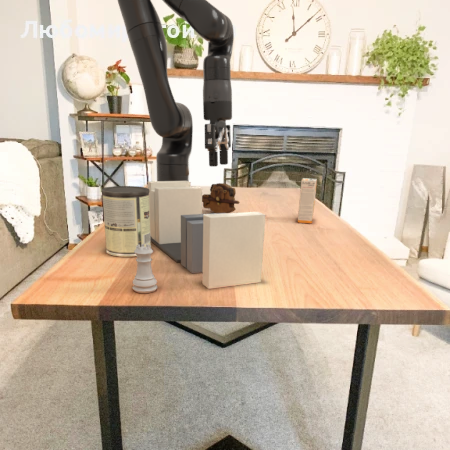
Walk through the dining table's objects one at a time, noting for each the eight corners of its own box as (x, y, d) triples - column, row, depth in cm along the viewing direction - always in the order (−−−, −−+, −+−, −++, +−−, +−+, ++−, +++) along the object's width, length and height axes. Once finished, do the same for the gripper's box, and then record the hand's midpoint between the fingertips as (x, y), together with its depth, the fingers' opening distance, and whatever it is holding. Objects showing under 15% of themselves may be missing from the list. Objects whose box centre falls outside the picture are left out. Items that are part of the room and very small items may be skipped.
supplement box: (312, 223, 139) (317, 181, 134) (297, 222, 140) (301, 180, 135) (313, 219, 146) (317, 178, 142) (298, 218, 147) (302, 177, 142)
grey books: (180, 264, 94) (180, 214, 90) (223, 260, 98) (224, 212, 94) (192, 273, 88) (192, 221, 85) (236, 268, 92) (238, 218, 89)
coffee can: (107, 245, 106) (103, 185, 101) (150, 245, 108) (149, 186, 103) (103, 257, 97) (99, 191, 91) (151, 256, 98) (149, 192, 93)
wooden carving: (196, 210, 153) (197, 181, 150) (205, 209, 157) (206, 180, 153) (233, 218, 143) (234, 186, 140) (242, 216, 147) (243, 185, 143)
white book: (202, 283, 83) (203, 214, 78) (253, 277, 87) (257, 211, 83) (208, 289, 80) (210, 217, 75) (261, 282, 85) (265, 214, 80)
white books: (144, 236, 116) (143, 180, 111) (187, 233, 121) (187, 180, 116) (177, 262, 95) (176, 195, 90) (227, 257, 100) (229, 193, 95)
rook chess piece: (133, 285, 81) (131, 242, 78) (158, 285, 81) (157, 242, 78) (131, 294, 77) (128, 249, 74) (157, 294, 77) (155, 249, 74)
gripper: (213, 103, 123) (214, 164, 128) (193, 99, 110) (196, 167, 115) (239, 101, 120) (239, 164, 126) (222, 97, 108) (223, 167, 113)
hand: (218, 165), depth 121 cm, fingers open, 8 cm apart
